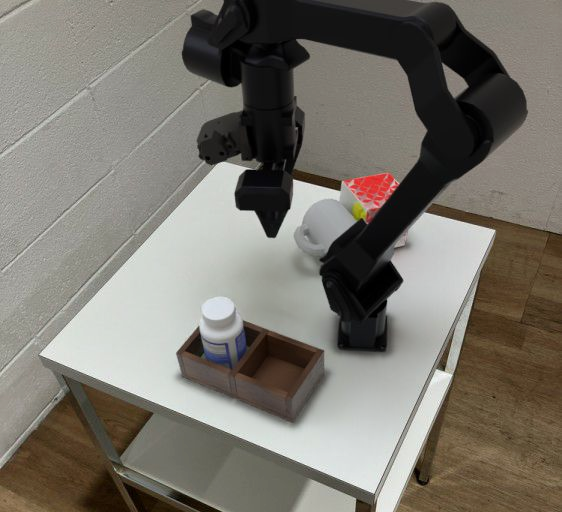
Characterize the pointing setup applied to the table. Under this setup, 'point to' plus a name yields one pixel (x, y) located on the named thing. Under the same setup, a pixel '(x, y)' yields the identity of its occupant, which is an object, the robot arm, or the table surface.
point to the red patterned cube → (368, 197)
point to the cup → (322, 226)
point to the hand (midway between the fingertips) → (276, 214)
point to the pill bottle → (222, 332)
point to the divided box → (259, 371)
